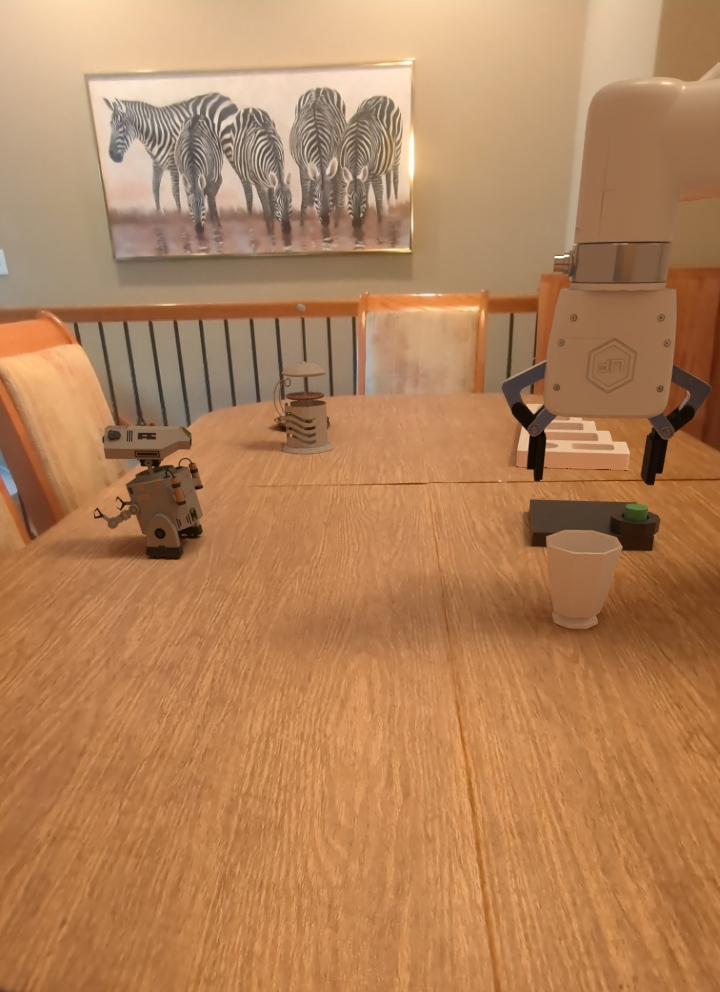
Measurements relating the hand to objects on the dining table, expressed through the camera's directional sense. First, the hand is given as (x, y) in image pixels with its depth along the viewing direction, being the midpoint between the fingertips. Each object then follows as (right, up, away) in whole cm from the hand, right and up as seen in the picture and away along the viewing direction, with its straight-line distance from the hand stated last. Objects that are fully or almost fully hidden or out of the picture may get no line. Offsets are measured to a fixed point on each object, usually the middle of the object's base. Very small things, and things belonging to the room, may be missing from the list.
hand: (591, 479), depth 68 cm
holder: (+19, +24, +76) cm, 82 cm away
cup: (+1, -12, +6) cm, 14 cm away
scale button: (+12, 0, +22) cm, 25 cm away
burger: (-33, +31, +92) cm, 103 cm away
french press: (-32, +22, +75) cm, 84 cm away
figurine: (-46, -3, +27) cm, 53 cm away
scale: (+8, 0, +28) cm, 29 cm away
